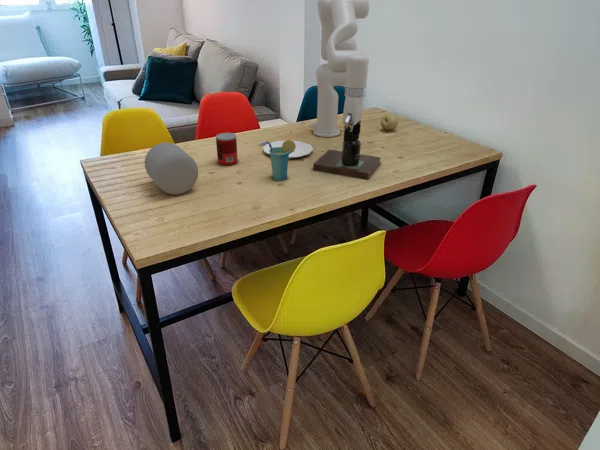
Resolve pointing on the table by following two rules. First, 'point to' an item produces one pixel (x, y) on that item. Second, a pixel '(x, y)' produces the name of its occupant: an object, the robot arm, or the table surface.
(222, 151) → the canned food
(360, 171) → the walnut board
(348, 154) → the supplement bottle
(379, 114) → the table surface
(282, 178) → the cup
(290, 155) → the plate
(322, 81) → the robot arm
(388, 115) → the fruit
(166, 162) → the grey rounded cylinder
